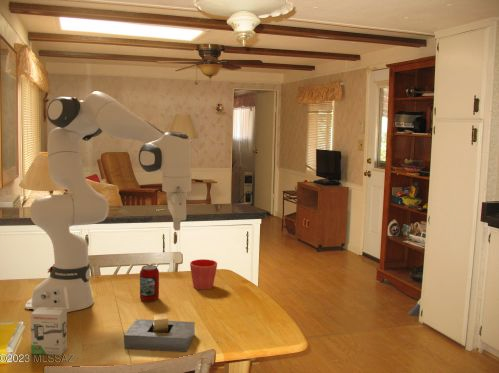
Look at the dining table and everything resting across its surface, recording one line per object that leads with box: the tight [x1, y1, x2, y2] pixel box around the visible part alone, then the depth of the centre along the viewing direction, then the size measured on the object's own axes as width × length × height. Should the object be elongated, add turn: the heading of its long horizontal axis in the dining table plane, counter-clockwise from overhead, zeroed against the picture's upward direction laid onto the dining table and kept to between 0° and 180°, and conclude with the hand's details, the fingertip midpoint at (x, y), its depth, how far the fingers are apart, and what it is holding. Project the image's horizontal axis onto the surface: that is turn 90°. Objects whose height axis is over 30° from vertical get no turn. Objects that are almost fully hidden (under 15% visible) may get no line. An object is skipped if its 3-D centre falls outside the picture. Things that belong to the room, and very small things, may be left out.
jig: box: [123, 318, 196, 353], centre depth 149 cm, size 18×12×4 cm, turn 86°
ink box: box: [30, 307, 68, 356], centre depth 141 cm, size 9×5×12 cm, turn 90°
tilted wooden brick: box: [152, 313, 169, 333], centre depth 149 cm, size 4×4×8 cm
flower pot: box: [189, 258, 218, 291], centre depth 200 cm, size 11×11×10 cm
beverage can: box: [139, 264, 160, 302], centre depth 184 cm, size 7×7×12 cm
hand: (176, 229), depth 158 cm, fingers closed
